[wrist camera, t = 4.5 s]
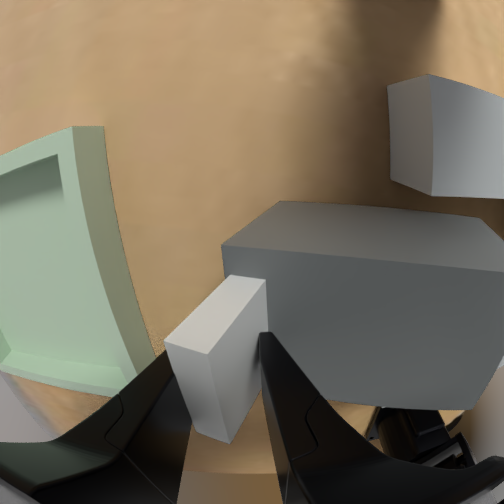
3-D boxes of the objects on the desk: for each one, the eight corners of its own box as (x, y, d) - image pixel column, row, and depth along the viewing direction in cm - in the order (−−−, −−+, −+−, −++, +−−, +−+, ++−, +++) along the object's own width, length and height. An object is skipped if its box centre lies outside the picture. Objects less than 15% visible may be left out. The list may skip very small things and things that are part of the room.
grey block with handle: (453, 324, 12) (476, 483, 4) (283, 305, 16) (197, 443, 8) (479, 217, 10) (587, 349, 2) (280, 200, 14) (146, 303, 6)
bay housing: (485, 335, 18) (508, 362, 14) (365, 366, 18) (381, 408, 15) (524, 121, 11) (563, 127, 7) (386, 85, 11) (428, 74, 8)
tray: (160, 370, 18) (150, 401, 16) (15, 351, 19) (0, 370, 16) (103, 125, 12) (71, 126, 10) (-42, 185, 13) (-67, 195, 10)
